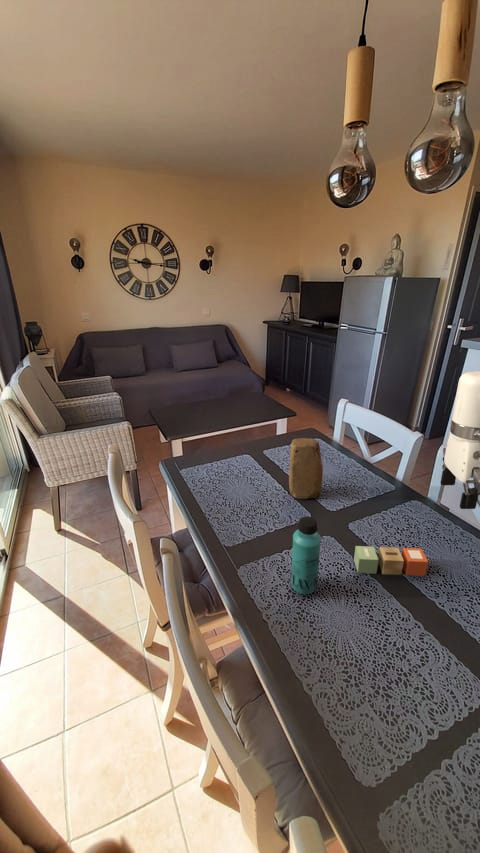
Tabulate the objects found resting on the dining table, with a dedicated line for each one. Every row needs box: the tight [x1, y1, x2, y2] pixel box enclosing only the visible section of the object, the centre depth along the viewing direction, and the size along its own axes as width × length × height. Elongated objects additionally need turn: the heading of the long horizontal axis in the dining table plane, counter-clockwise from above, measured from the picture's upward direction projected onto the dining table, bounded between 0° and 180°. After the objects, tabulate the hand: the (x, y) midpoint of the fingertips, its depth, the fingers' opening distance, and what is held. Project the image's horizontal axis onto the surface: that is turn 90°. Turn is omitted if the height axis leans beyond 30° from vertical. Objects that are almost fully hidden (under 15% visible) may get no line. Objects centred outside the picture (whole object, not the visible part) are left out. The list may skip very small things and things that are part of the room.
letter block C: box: [401, 547, 429, 577], centre depth 90 cm, size 5×5×5 cm
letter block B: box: [353, 545, 379, 575], centre depth 91 cm, size 5×5×5 cm
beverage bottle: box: [289, 515, 322, 595], centre depth 83 cm, size 6×7×20 cm
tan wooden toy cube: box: [377, 546, 404, 576], centre depth 91 cm, size 5×5×5 cm
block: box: [288, 437, 324, 500], centre depth 119 cm, size 11×8×20 cm
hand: (456, 495), depth 85 cm, fingers open, 9 cm apart
